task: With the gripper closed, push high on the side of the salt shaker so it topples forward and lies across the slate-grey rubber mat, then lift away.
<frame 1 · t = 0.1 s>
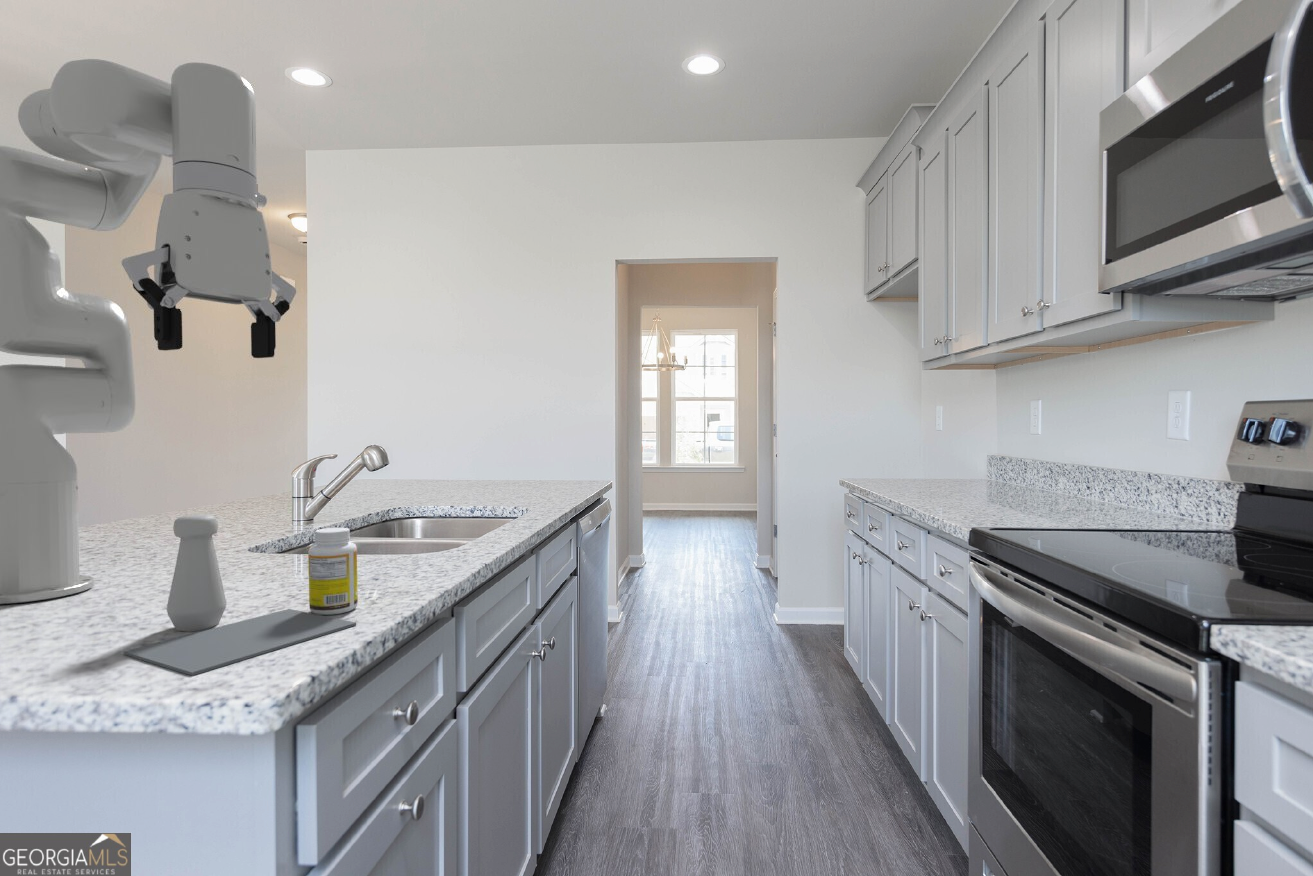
hand: (219, 353, 73), 31 cm above the counter, tool pointing down, fingers open, 9 cm apart
salt shaker: (197, 628, 80), on the counter
supplement bottle: (333, 611, 87), on the counter
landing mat: (247, 638, 76), on the counter
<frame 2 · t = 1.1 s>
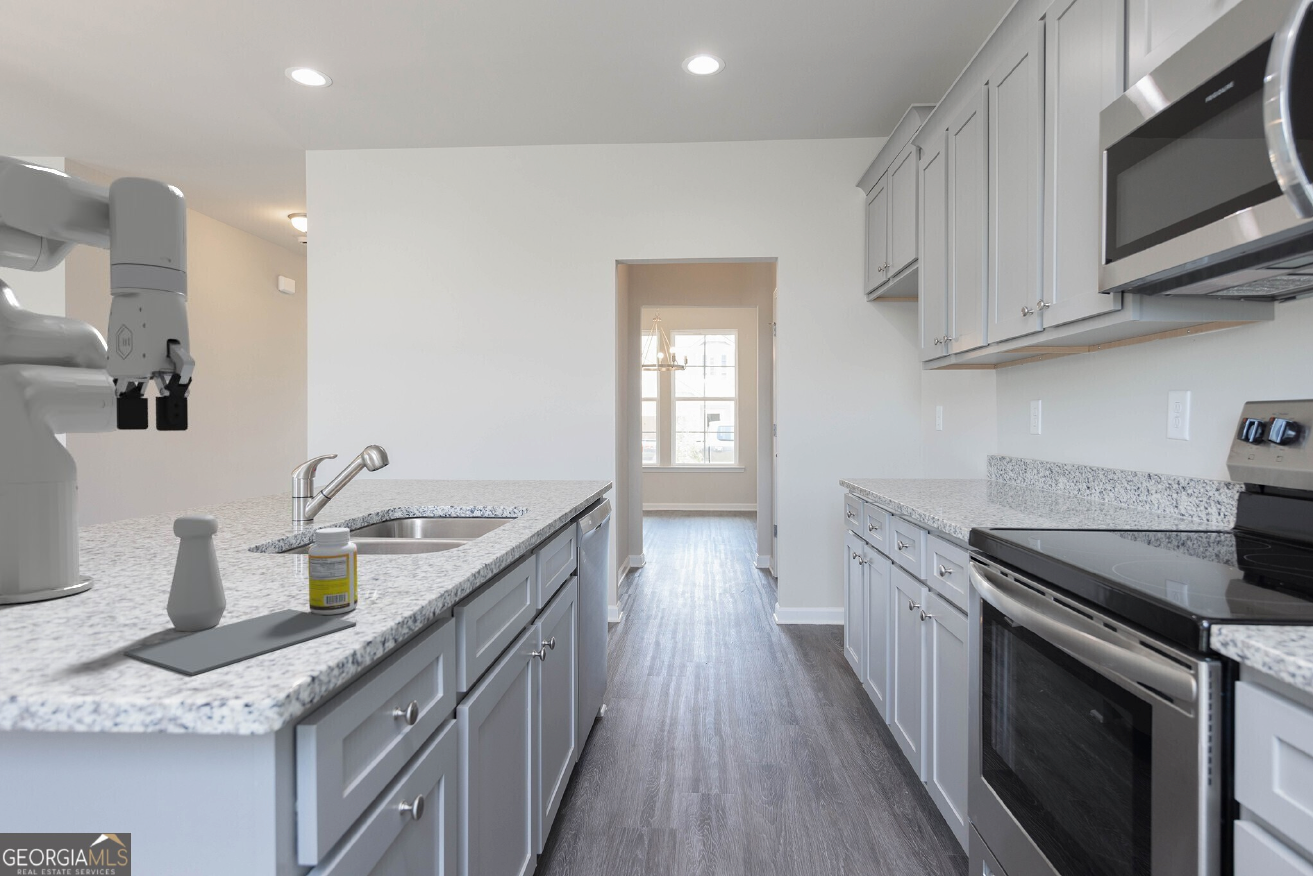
hand: (152, 429, 84), 23 cm above the counter, tool pointing down, fingers open, 8 cm apart
nothing on the counter moved.
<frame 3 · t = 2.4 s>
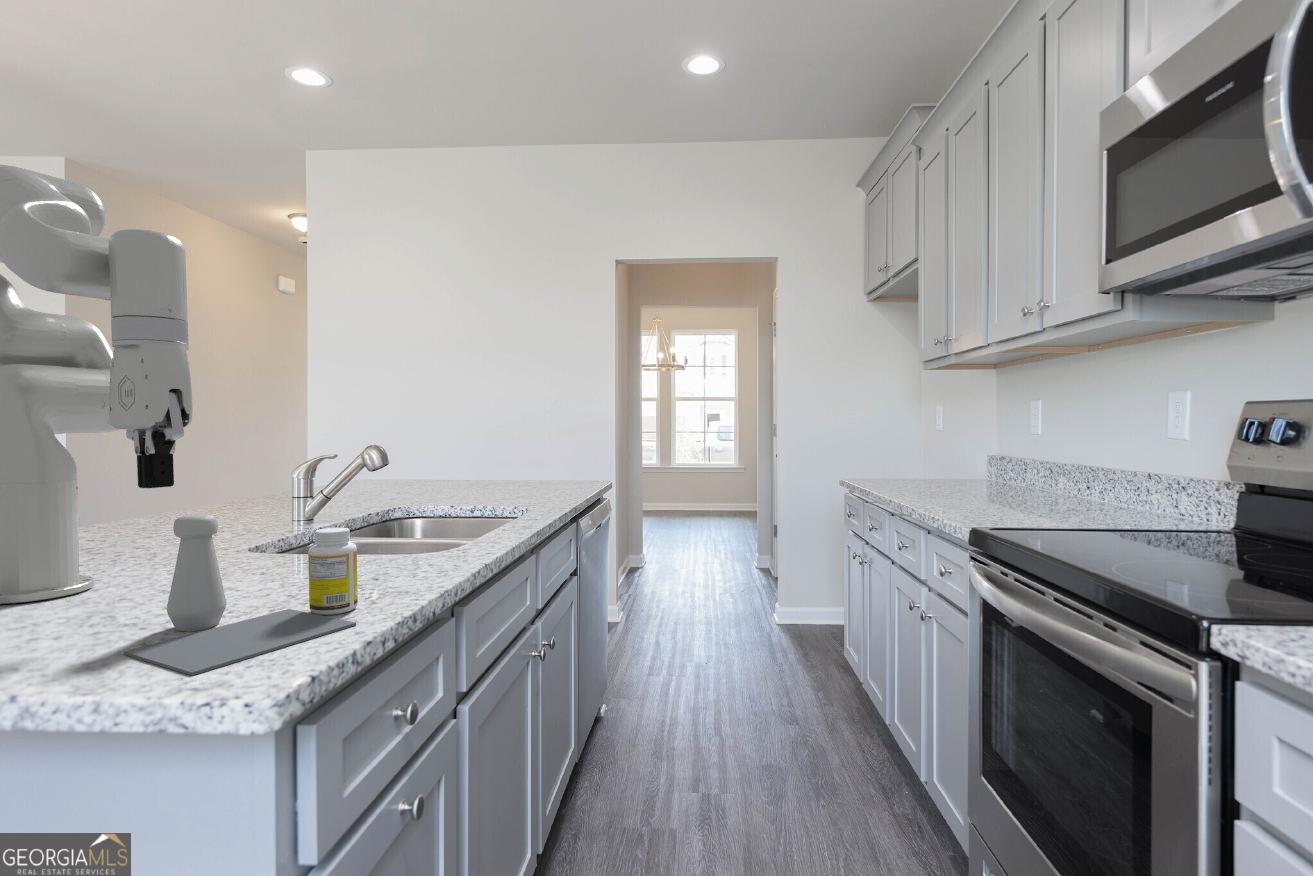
hand: (156, 486, 84), 16 cm above the counter, tool pointing down, fingers closed
nothing on the counter moved.
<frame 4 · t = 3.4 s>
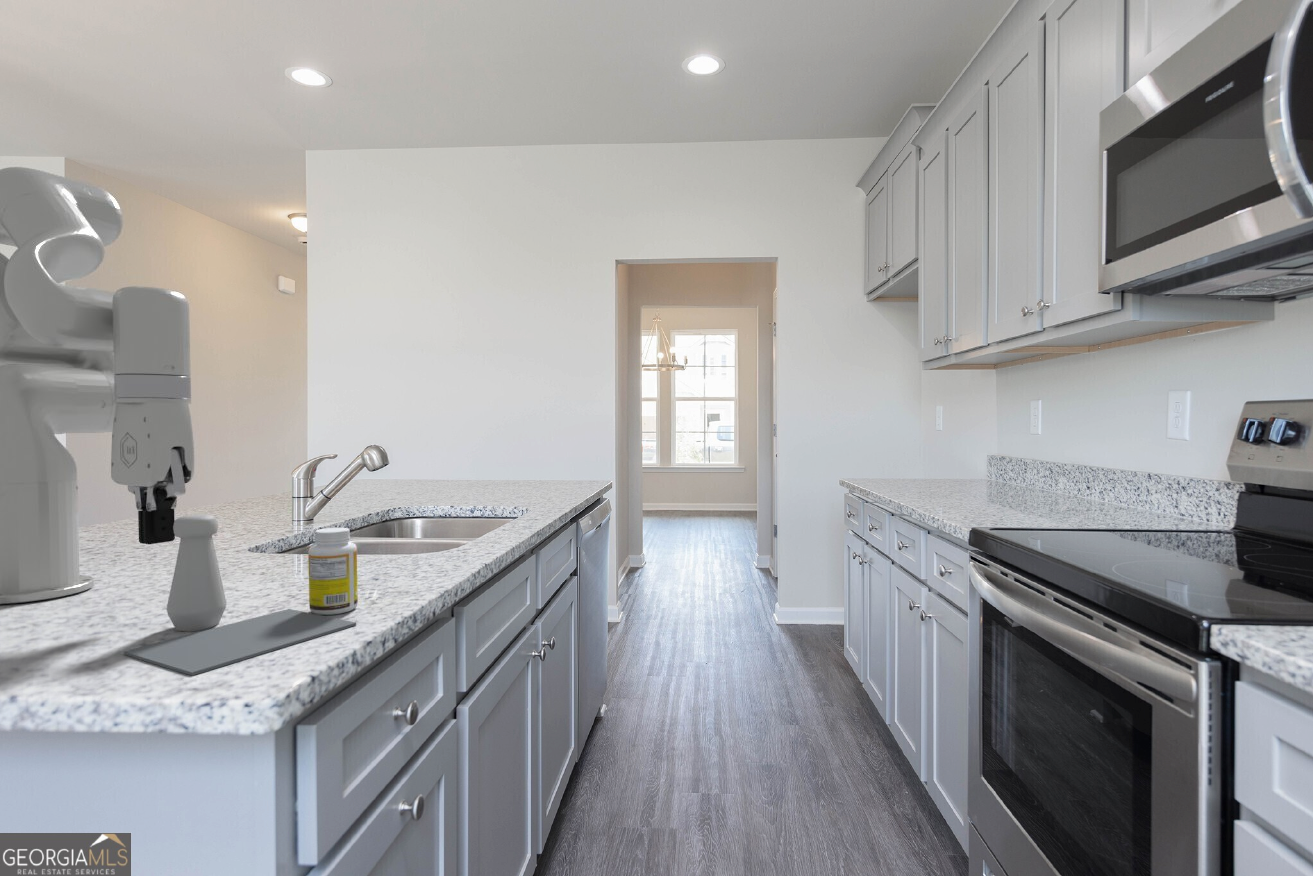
hand: (157, 541, 84), 9 cm above the counter, tool pointing down, fingers closed
nothing on the counter moved.
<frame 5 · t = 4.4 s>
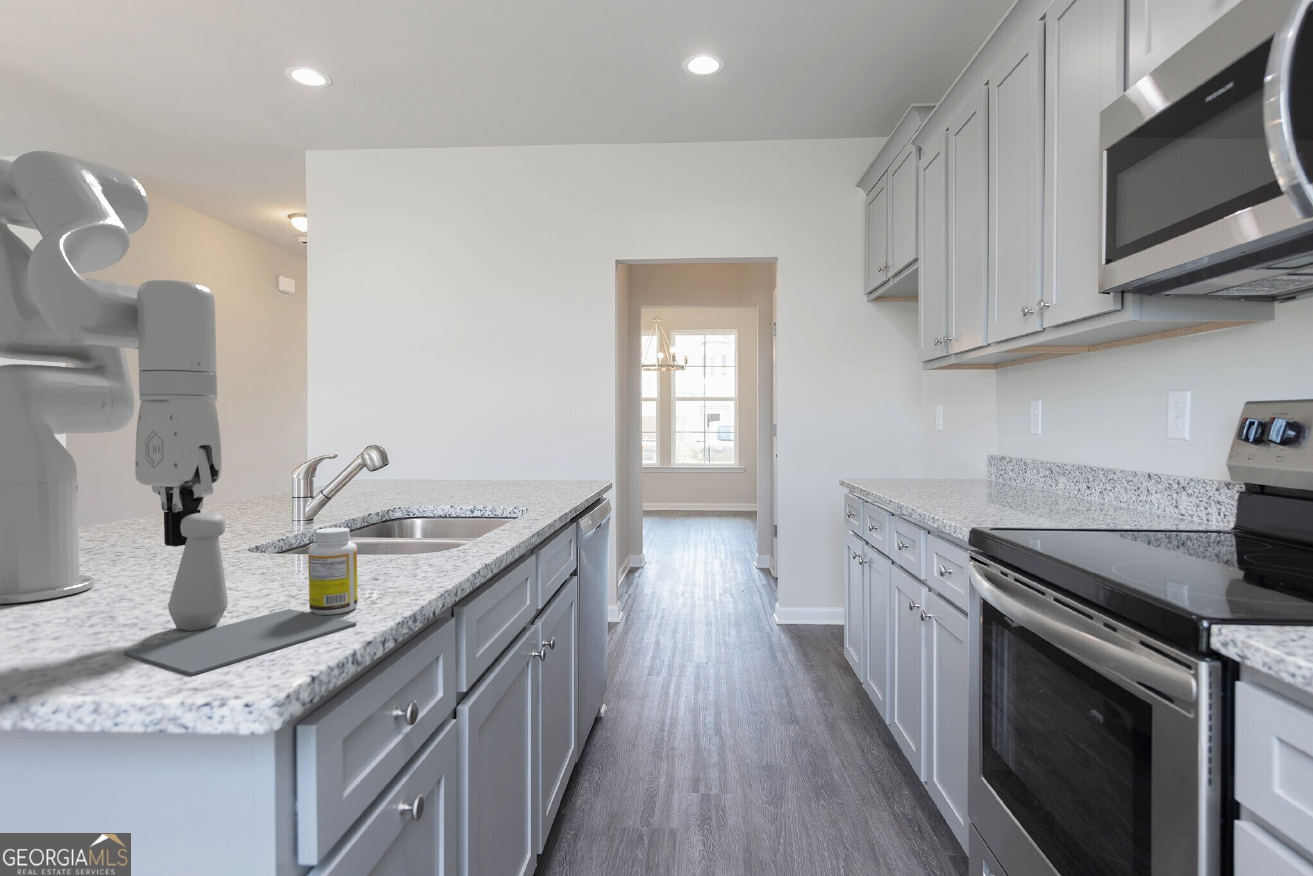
hand: (183, 544, 81), 9 cm above the counter, tool pointing down, fingers closed
salt shaker: (197, 625, 80), on the counter, touching gripper
everything else where it was.
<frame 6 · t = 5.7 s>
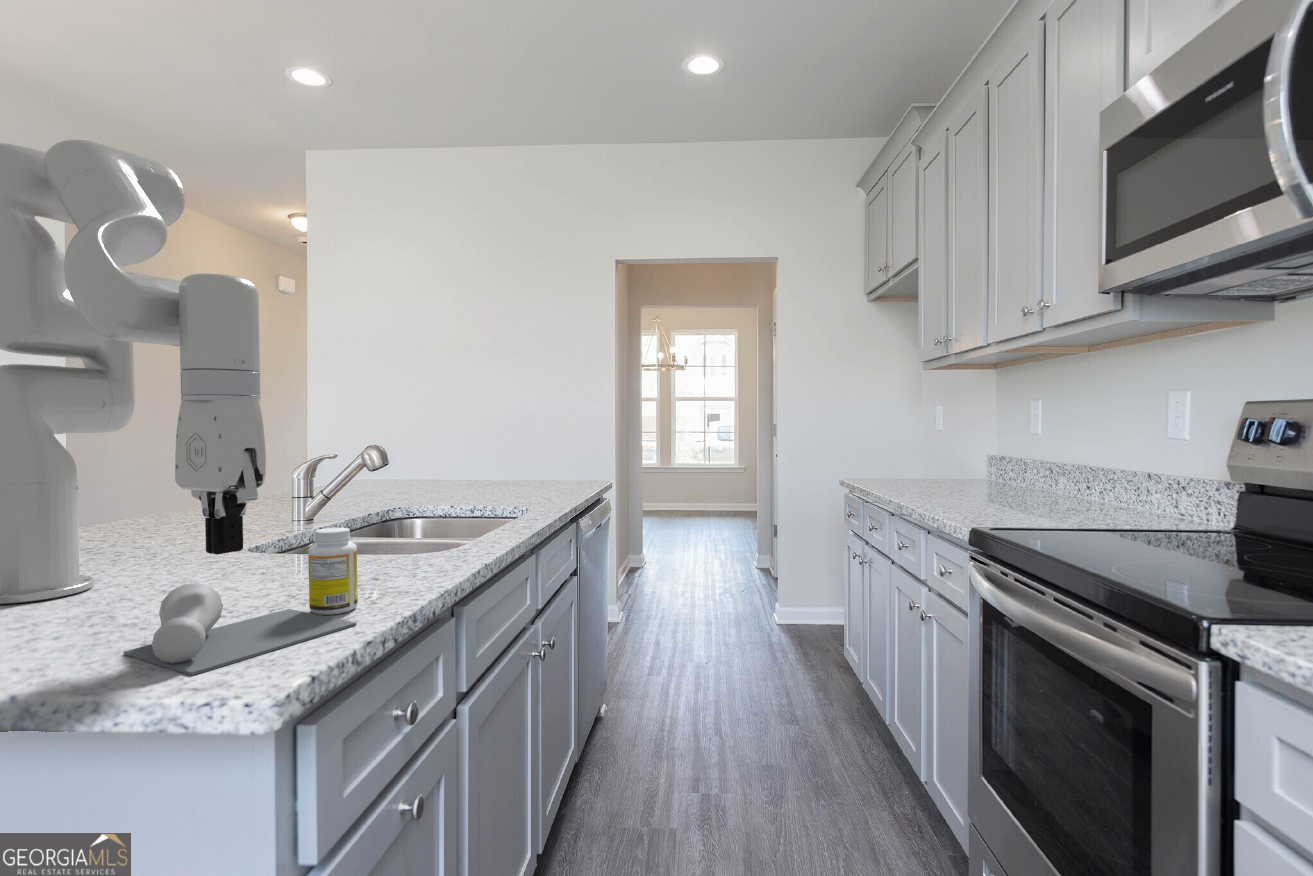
hand: (224, 551, 77), 9 cm above the counter, tool pointing down, fingers closed
salt shaker: (194, 602, 78), point 3 cm above the counter, touching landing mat
everything else where it was.
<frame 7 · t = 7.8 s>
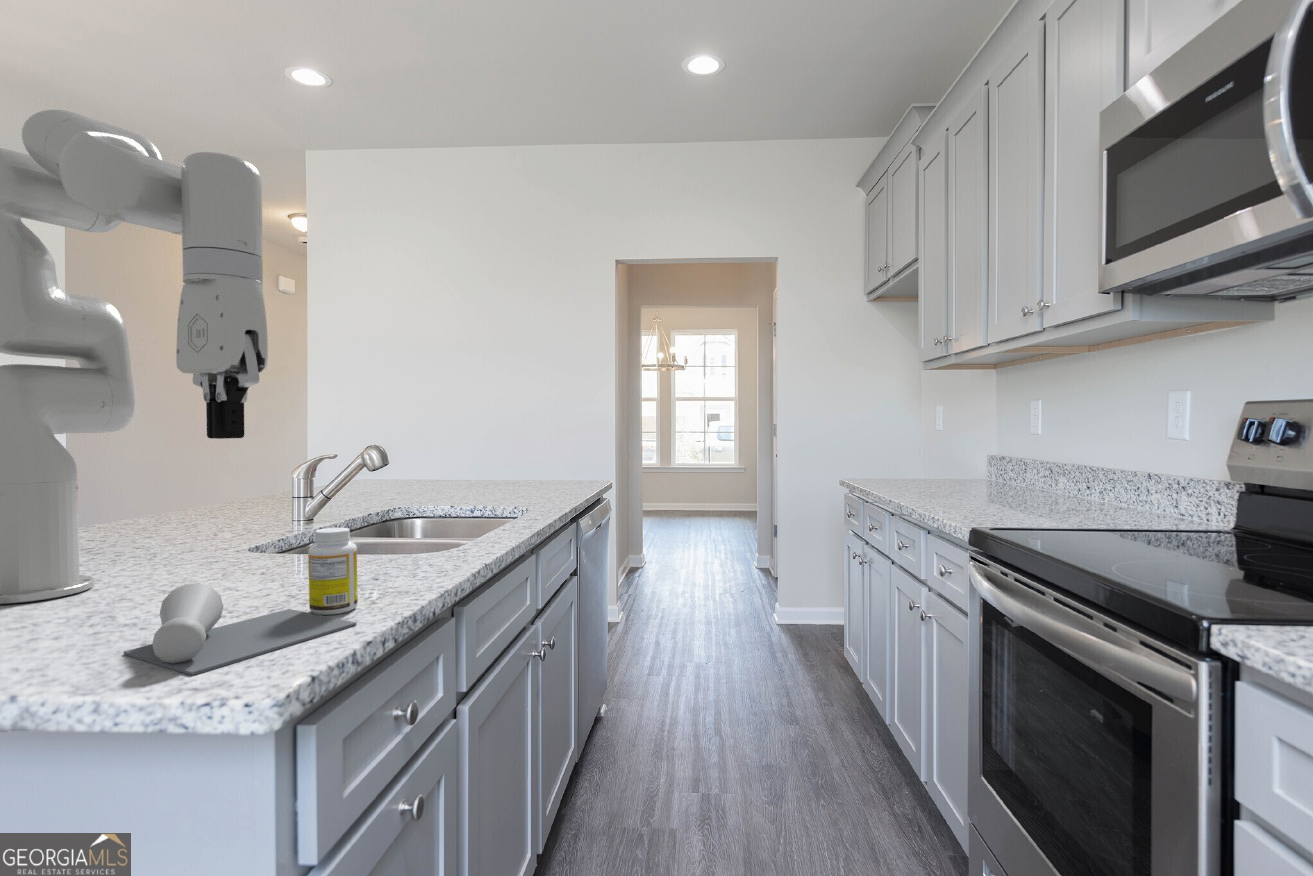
hand: (225, 437, 77), 22 cm above the counter, tool pointing down, fingers closed
nothing on the counter moved.
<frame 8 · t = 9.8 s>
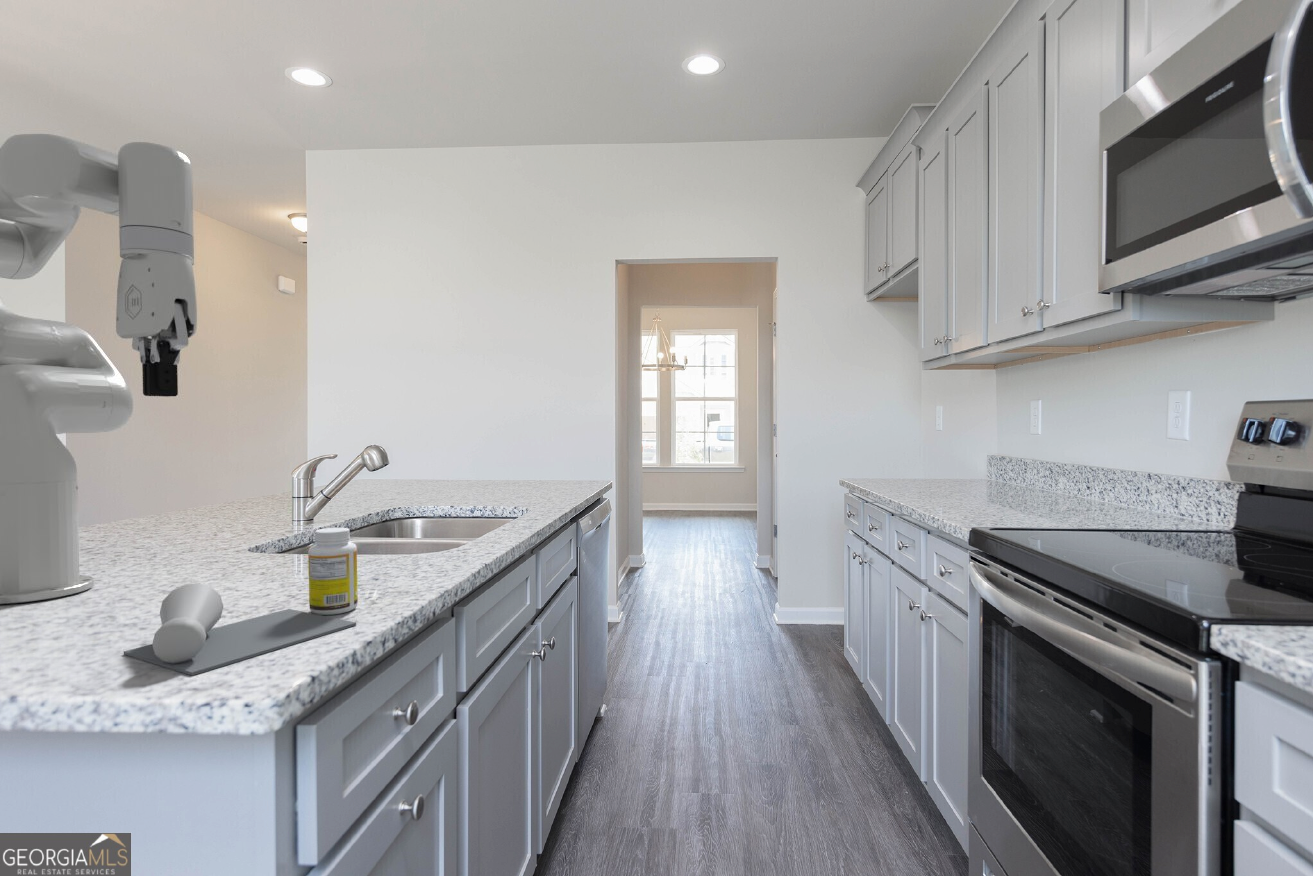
hand: (160, 395, 86), 27 cm above the counter, tool pointing down, fingers closed
nothing on the counter moved.
at the end: salt shaker tilted 95°; salt shaker inside the target area (5.6 cm from its centre), point 3.4 cm above the counter; supplement bottle moved 0.2 cm from its start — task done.
